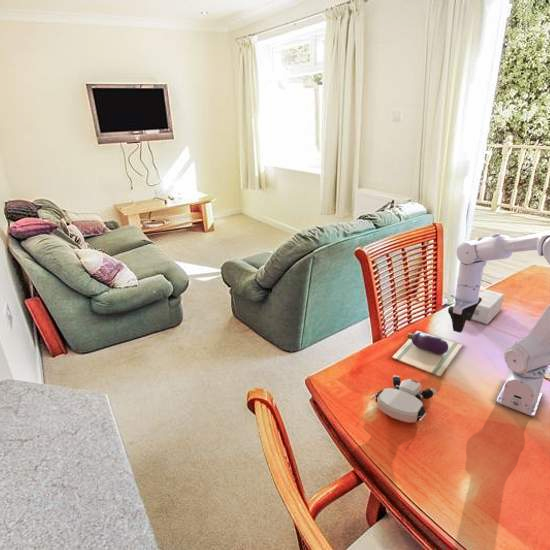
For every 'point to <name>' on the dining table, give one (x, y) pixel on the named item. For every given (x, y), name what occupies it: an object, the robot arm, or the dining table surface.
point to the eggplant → (429, 342)
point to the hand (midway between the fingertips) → (461, 325)
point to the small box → (487, 306)
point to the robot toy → (403, 400)
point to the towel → (427, 356)
